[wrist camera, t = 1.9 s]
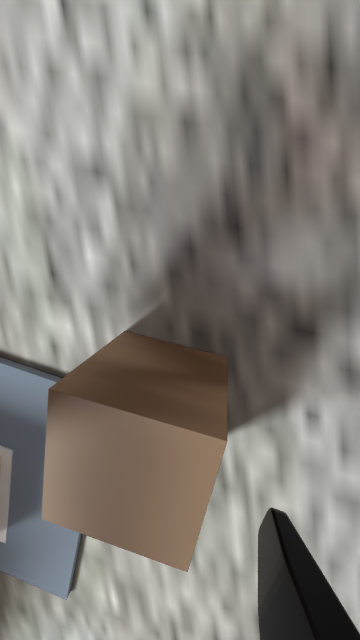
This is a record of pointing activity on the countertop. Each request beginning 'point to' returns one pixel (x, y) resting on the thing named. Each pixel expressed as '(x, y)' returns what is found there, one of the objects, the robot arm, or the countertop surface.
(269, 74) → the countertop surface
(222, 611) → the countertop surface
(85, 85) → the countertop surface
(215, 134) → the countertop surface
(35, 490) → the building mat
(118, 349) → the brown block
